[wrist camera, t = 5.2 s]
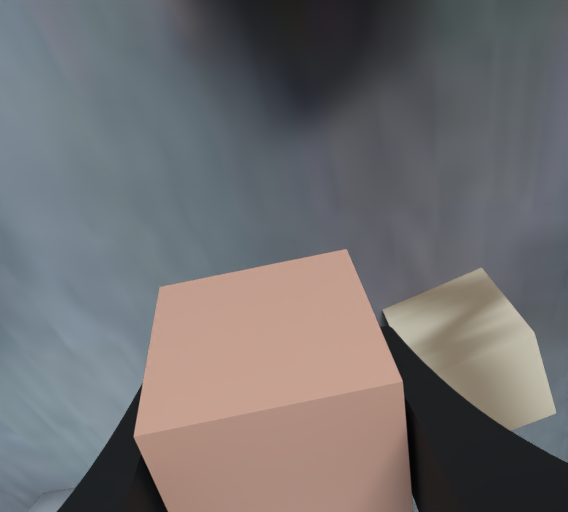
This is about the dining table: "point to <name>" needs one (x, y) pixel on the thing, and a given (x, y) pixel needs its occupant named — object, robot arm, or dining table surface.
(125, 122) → the dining table surface
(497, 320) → the maple block
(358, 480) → the terracotta block
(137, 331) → the dining table surface
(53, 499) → the salt shaker
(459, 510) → the robot arm
